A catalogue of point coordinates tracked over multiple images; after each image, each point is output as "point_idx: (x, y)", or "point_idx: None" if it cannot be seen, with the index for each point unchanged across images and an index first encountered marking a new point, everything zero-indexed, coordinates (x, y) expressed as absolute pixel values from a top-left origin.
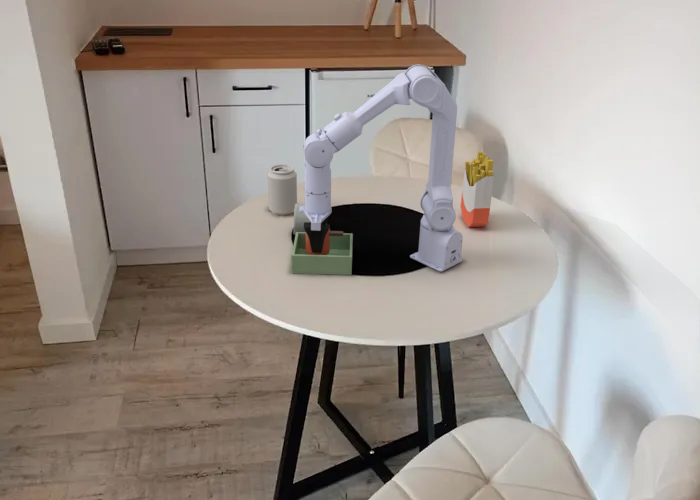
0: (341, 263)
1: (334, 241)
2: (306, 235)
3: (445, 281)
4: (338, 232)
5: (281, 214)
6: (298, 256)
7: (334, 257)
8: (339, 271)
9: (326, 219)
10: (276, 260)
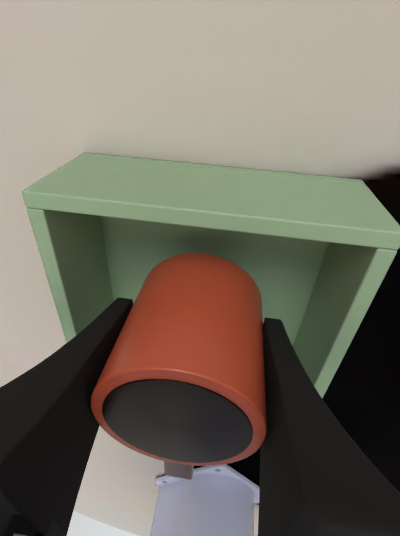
0: None
1: None
2: (144, 338)
3: (121, 472)
4: (175, 466)
5: None
6: (35, 230)
7: None
8: None
9: (262, 505)
10: (228, 45)
